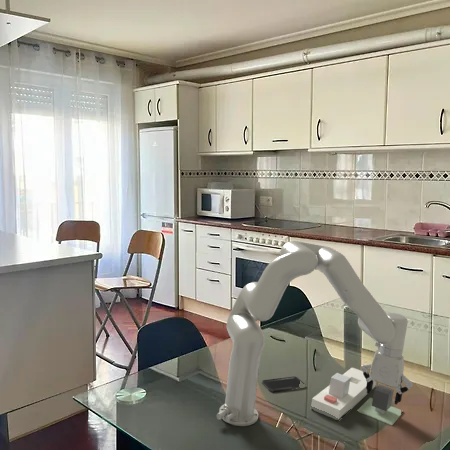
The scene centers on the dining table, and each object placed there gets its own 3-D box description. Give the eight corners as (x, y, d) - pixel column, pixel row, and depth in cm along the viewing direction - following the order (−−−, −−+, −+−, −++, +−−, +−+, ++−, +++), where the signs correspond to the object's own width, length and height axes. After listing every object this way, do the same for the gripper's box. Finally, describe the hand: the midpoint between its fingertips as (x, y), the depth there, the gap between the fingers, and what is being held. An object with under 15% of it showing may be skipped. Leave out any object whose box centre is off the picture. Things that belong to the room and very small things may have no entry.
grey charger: (341, 403, 170) (344, 382, 169) (327, 398, 173) (330, 377, 172) (347, 398, 174) (350, 377, 173) (334, 393, 177) (337, 372, 176)
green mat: (391, 425, 164) (392, 424, 164) (357, 411, 171) (357, 410, 171) (403, 412, 174) (403, 410, 174) (369, 398, 181) (370, 397, 181)
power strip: (338, 421, 163) (340, 407, 162) (310, 409, 169) (312, 395, 168) (375, 386, 191) (377, 374, 190) (350, 376, 196) (352, 365, 195)
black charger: (385, 416, 169) (388, 394, 167) (370, 410, 172) (374, 389, 170) (390, 410, 173) (393, 389, 171) (376, 405, 176) (379, 384, 174)
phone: (261, 380, 184) (295, 376, 191) (260, 383, 185) (295, 378, 191) (271, 391, 177) (307, 386, 184) (271, 394, 178) (306, 389, 184)
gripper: (361, 345, 170) (354, 391, 173) (413, 362, 160) (404, 411, 163) (369, 339, 176) (362, 384, 179) (420, 355, 166) (411, 403, 169)
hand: (382, 397), depth 171 cm, fingers open, 9 cm apart
